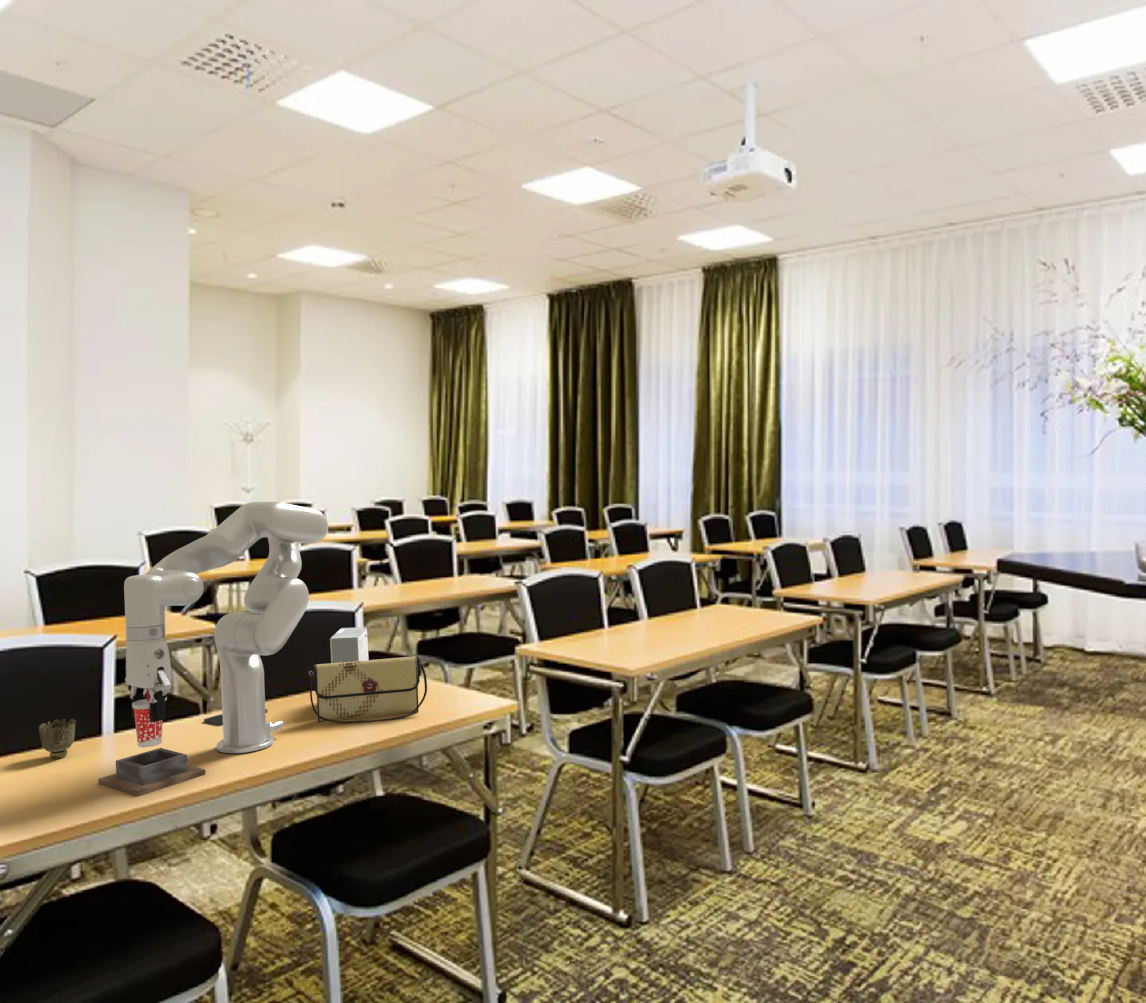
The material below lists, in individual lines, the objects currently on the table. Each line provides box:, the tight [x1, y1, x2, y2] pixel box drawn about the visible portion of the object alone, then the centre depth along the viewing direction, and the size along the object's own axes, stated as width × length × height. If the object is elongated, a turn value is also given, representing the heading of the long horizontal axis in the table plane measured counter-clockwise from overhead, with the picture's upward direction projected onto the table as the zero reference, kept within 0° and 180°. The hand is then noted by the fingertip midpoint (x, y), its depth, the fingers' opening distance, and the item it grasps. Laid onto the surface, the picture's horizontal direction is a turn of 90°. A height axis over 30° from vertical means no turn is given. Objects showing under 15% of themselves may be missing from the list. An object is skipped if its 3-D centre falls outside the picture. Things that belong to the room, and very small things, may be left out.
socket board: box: [97, 747, 206, 797], centre depth 189 cm, size 15×15×4 cm
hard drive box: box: [329, 626, 370, 663], centre depth 248 cm, size 16×8×20 cm, turn 3°
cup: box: [38, 718, 76, 760], centre depth 207 cm, size 8×7×8 cm
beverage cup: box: [131, 689, 163, 748], centre depth 189 cm, size 6×6×14 cm
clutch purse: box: [308, 655, 428, 724], centre depth 232 cm, size 30×7×15 cm, turn 105°
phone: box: [203, 708, 268, 727], centre depth 237 cm, size 8×1×15 cm
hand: (149, 717), depth 189 cm, fingers closed on beverage cup, 6 cm apart
